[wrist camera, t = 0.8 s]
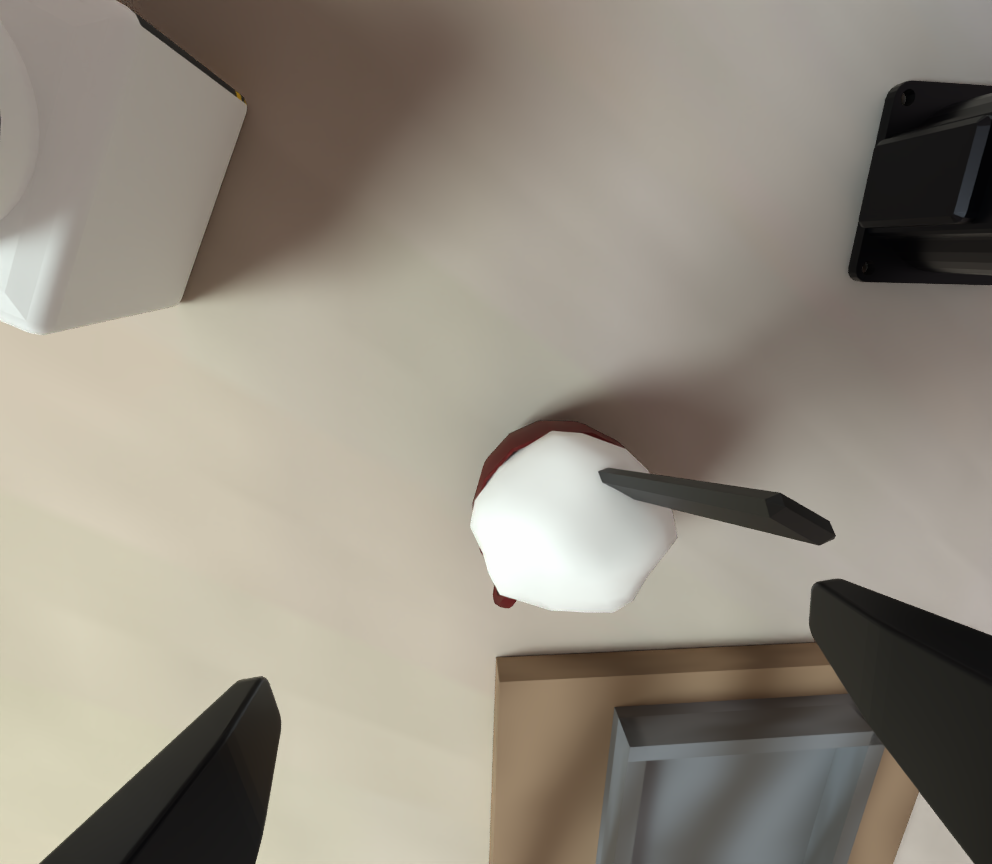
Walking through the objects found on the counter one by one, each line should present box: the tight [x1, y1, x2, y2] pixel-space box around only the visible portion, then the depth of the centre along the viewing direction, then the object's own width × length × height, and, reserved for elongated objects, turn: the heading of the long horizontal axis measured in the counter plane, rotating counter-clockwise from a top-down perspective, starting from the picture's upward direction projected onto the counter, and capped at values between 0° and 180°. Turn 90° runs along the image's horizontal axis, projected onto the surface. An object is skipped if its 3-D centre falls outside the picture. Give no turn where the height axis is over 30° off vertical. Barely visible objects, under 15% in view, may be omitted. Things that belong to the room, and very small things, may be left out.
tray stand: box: [489, 643, 919, 864], centre depth 27 cm, size 22×18×4 cm
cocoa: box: [470, 421, 836, 612], centre depth 17 cm, size 10×6×12 cm, turn 128°
